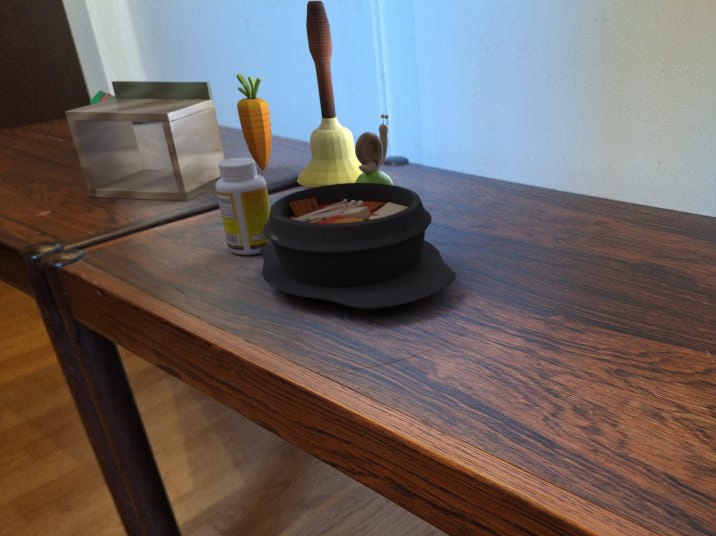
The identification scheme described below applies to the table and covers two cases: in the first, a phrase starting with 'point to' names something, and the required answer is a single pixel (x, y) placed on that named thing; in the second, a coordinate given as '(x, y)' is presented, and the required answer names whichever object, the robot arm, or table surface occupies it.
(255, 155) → the carrot
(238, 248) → the supplement bottle
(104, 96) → the building blocks
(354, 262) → the casserole
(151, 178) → the shelf
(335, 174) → the handbell
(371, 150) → the snail figurine
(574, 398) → the table surface
